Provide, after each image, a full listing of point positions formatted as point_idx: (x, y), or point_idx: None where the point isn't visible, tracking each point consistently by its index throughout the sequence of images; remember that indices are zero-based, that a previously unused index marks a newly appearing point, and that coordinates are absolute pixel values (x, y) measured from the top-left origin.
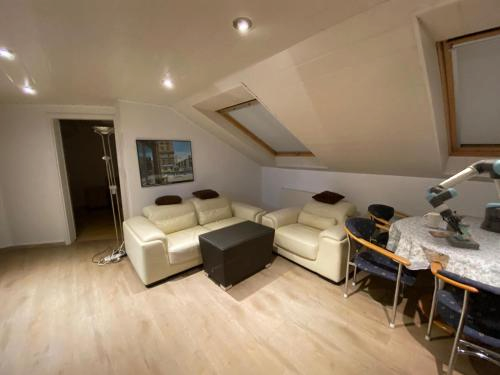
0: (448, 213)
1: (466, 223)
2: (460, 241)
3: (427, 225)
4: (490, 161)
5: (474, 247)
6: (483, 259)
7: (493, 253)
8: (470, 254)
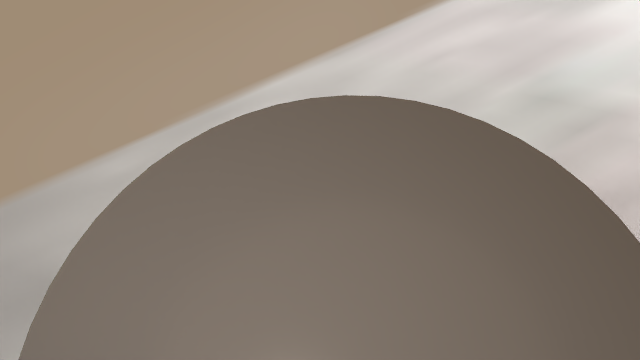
0: None
1: (223, 295)
2: None
3: None
4: None
5: None
6: (578, 23)
7: (295, 83)
8: (607, 131)
